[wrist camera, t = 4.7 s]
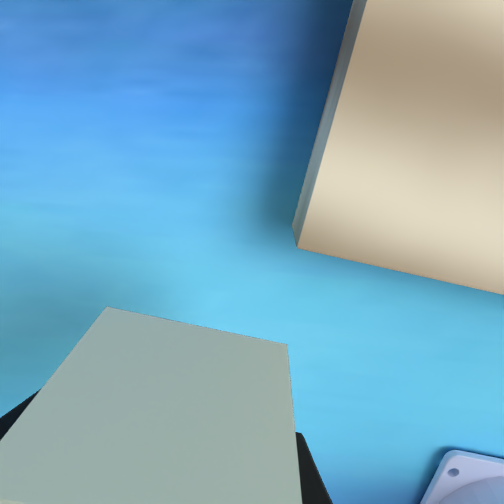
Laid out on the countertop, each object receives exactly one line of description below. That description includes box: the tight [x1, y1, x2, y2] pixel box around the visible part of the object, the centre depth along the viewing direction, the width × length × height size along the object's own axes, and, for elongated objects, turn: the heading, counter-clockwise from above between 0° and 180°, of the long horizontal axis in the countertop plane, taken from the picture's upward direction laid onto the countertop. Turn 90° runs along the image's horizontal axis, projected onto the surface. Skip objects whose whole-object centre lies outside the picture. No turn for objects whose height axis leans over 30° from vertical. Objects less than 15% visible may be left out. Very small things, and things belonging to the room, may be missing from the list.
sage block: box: [0, 306, 302, 504], centre depth 8 cm, size 4×4×5 cm
